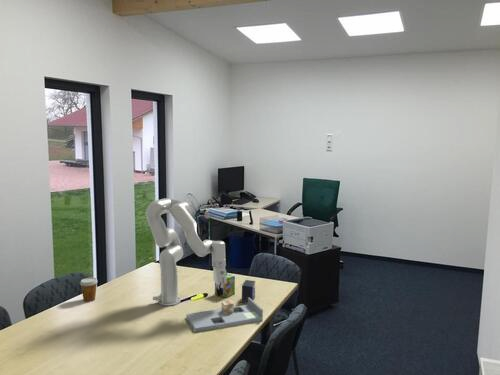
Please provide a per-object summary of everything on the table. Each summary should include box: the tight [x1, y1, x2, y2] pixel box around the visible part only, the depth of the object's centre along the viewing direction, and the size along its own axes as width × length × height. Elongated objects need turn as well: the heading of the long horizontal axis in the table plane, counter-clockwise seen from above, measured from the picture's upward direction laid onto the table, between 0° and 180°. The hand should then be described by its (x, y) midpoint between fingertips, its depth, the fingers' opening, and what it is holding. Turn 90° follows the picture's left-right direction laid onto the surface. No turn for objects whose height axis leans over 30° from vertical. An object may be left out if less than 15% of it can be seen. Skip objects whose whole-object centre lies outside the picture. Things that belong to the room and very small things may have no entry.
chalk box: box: [214, 270, 236, 298], centre depth 244 cm, size 9×9×15 cm
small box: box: [241, 279, 256, 304], centre depth 235 cm, size 11×6×10 cm, turn 168°
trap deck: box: [185, 298, 264, 333], centre depth 208 cm, size 36×18×6 cm, turn 113°
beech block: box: [221, 299, 235, 314], centre depth 213 cm, size 5×5×5 cm
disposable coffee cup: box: [79, 277, 99, 303], centre depth 233 cm, size 10×10×12 cm
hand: (219, 295), depth 223 cm, fingers closed
